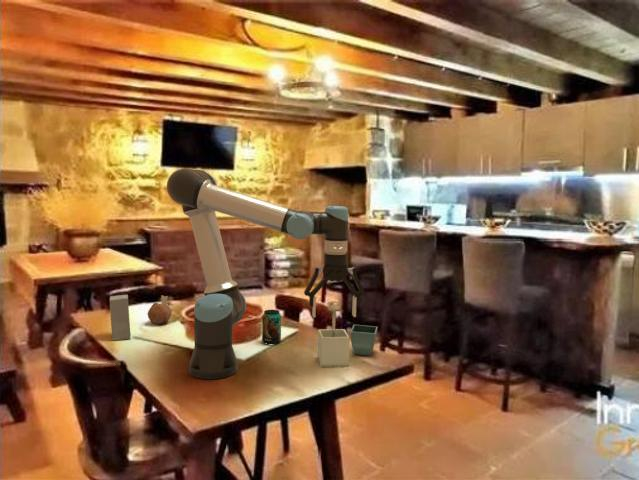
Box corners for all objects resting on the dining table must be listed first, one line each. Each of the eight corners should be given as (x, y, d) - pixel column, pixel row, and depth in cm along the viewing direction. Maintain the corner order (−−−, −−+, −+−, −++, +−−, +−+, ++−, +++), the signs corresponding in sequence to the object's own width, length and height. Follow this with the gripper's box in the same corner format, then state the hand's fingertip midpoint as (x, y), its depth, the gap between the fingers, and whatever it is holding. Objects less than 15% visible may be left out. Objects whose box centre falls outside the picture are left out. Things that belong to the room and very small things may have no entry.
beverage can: (258, 344, 178) (259, 312, 177) (266, 338, 185) (267, 308, 184) (276, 346, 176) (276, 314, 175) (283, 340, 183) (284, 310, 181)
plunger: (324, 360, 157) (325, 305, 156) (321, 353, 164) (323, 300, 162) (344, 359, 158) (345, 305, 156) (340, 352, 165) (342, 300, 163)
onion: (151, 330, 202) (141, 308, 202) (171, 321, 207) (161, 300, 207) (157, 327, 194) (147, 305, 194) (178, 318, 200) (168, 296, 200)
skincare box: (130, 339, 179) (129, 298, 178) (109, 341, 177) (108, 299, 175) (130, 333, 187) (129, 293, 186) (110, 334, 185) (109, 294, 183)
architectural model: (168, 309, 226) (168, 294, 226) (174, 312, 221) (174, 296, 220) (161, 310, 224) (161, 295, 223) (167, 313, 219) (167, 298, 218)
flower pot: (374, 358, 166) (375, 333, 165) (349, 356, 168) (350, 331, 167) (376, 350, 175) (377, 326, 174) (352, 348, 176) (353, 324, 175)
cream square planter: (320, 367, 156) (321, 337, 155) (317, 357, 165) (318, 329, 164) (348, 366, 157) (349, 337, 156) (343, 357, 166) (344, 329, 165)
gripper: (299, 254, 152) (297, 319, 154) (375, 254, 155) (373, 318, 158) (297, 251, 160) (295, 313, 162) (370, 251, 163) (368, 312, 165)
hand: (334, 316), depth 160 cm, fingers open, 13 cm apart
